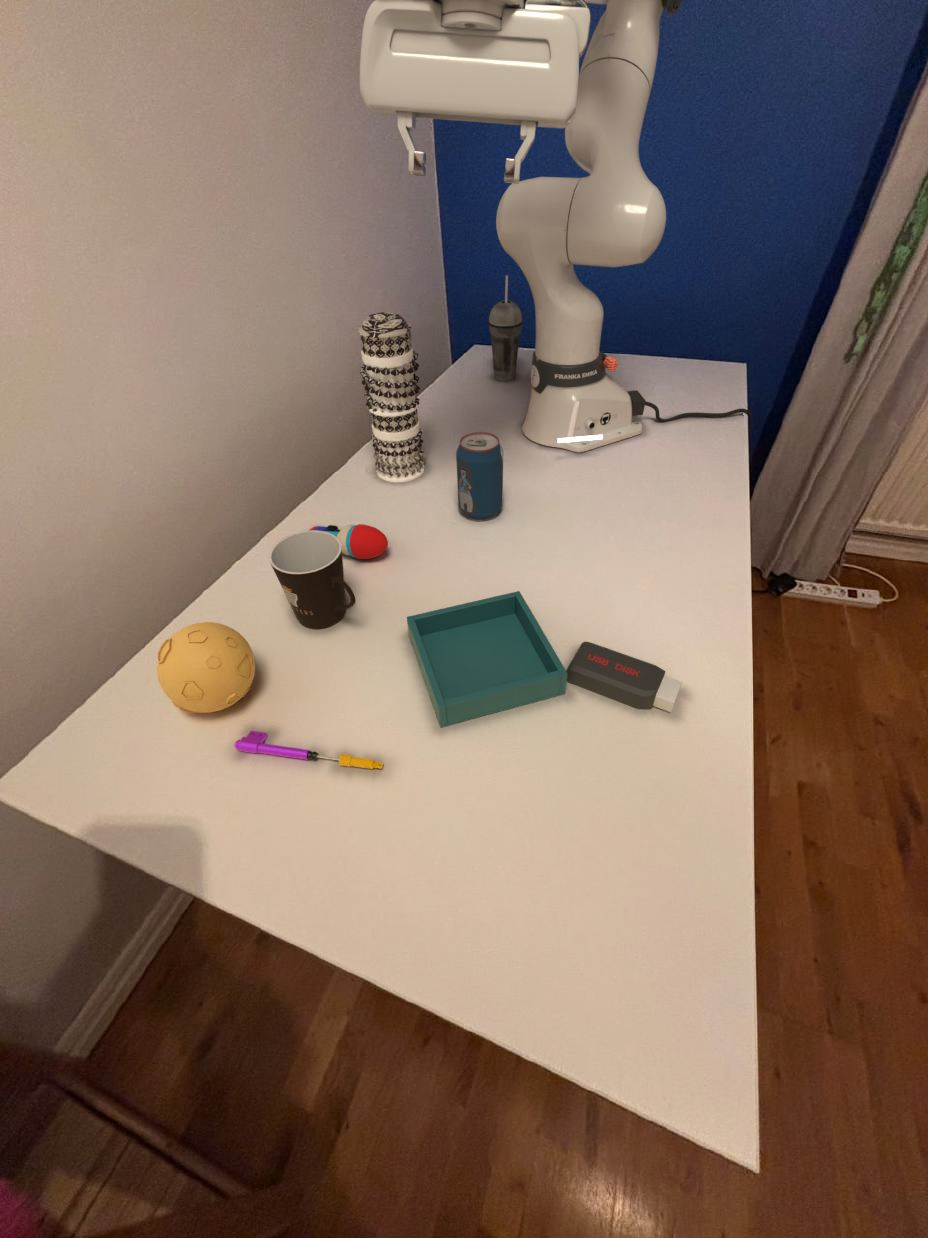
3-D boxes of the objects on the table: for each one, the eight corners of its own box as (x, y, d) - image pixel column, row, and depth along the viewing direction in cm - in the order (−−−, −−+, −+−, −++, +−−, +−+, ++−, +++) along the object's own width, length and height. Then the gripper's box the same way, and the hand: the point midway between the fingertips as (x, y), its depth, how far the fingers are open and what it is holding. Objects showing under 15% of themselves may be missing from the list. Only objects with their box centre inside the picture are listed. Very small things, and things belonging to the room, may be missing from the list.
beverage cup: (486, 383, 131) (485, 281, 117) (490, 370, 136) (490, 271, 122) (519, 384, 130) (522, 282, 116) (522, 371, 135) (526, 272, 121)
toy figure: (292, 563, 88) (377, 571, 82) (281, 533, 86) (368, 540, 80) (321, 538, 94) (403, 544, 88) (312, 510, 91) (396, 514, 85)
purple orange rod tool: (233, 752, 62) (381, 774, 60) (231, 743, 62) (380, 765, 60) (246, 735, 65) (388, 755, 62) (244, 727, 64) (388, 747, 62)
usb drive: (580, 651, 72) (582, 635, 70) (680, 687, 67) (686, 671, 65) (563, 680, 69) (565, 664, 67) (667, 720, 64) (673, 704, 62)
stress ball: (166, 688, 69) (130, 627, 63) (247, 652, 73) (222, 590, 67) (191, 747, 63) (155, 686, 57) (278, 703, 67) (254, 641, 60)
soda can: (505, 501, 96) (507, 431, 88) (498, 525, 91) (499, 454, 83) (463, 497, 97) (461, 428, 89) (454, 521, 93) (450, 450, 84)
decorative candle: (436, 473, 103) (426, 318, 86) (389, 489, 100) (368, 331, 83) (412, 452, 109) (397, 303, 92) (366, 466, 106) (342, 315, 89)
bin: (518, 610, 77) (519, 590, 75) (565, 694, 67) (567, 673, 65) (409, 636, 74) (406, 616, 72) (440, 727, 64) (438, 707, 62)
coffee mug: (282, 601, 80) (263, 541, 73) (345, 584, 82) (331, 523, 75) (300, 659, 72) (281, 598, 65) (369, 638, 74) (357, 576, 68)
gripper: (591, 4, 54) (566, 190, 61) (369, -11, 55) (371, 174, 62) (598, -25, 49) (570, 183, 56) (352, -41, 50) (356, 166, 57)
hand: (464, 178), depth 59 cm, fingers open, 8 cm apart
